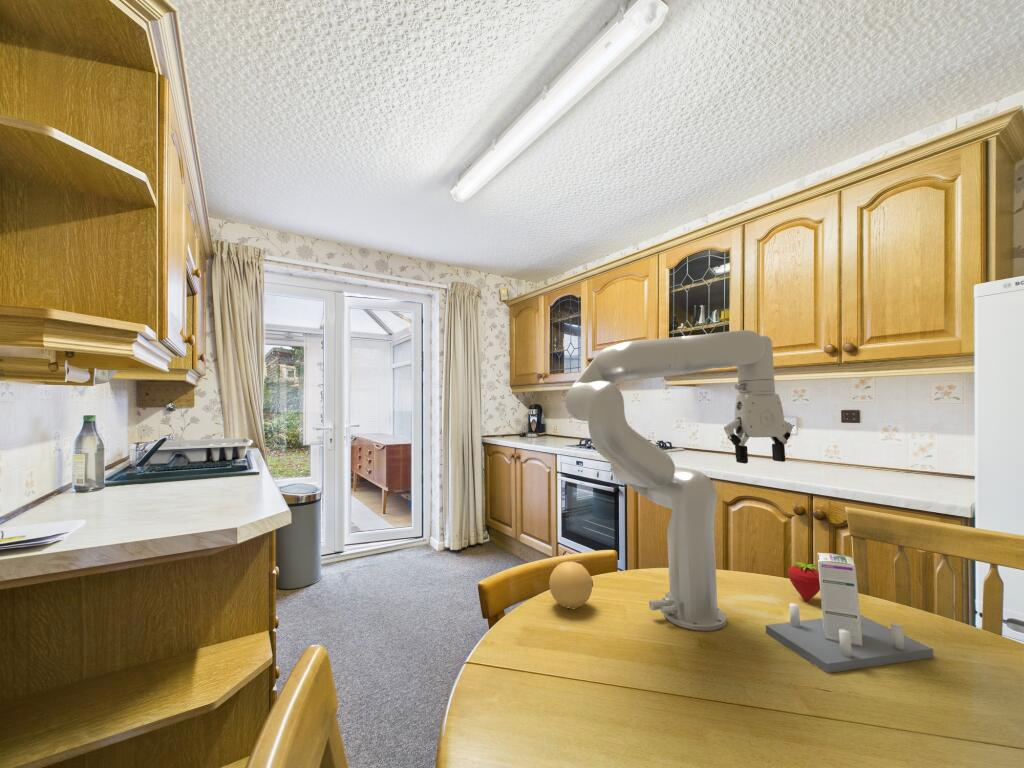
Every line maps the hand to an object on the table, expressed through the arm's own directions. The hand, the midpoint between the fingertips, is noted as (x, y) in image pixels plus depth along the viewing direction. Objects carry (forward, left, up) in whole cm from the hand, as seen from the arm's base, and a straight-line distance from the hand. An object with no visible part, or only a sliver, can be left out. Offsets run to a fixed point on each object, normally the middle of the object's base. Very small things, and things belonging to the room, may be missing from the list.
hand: (760, 462), depth 103 cm
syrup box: (0, -18, -31) cm, 36 cm away
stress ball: (-44, +9, -32) cm, 55 cm away
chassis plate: (+1, -18, -32) cm, 37 cm away
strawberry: (+10, 0, -32) cm, 34 cm away
